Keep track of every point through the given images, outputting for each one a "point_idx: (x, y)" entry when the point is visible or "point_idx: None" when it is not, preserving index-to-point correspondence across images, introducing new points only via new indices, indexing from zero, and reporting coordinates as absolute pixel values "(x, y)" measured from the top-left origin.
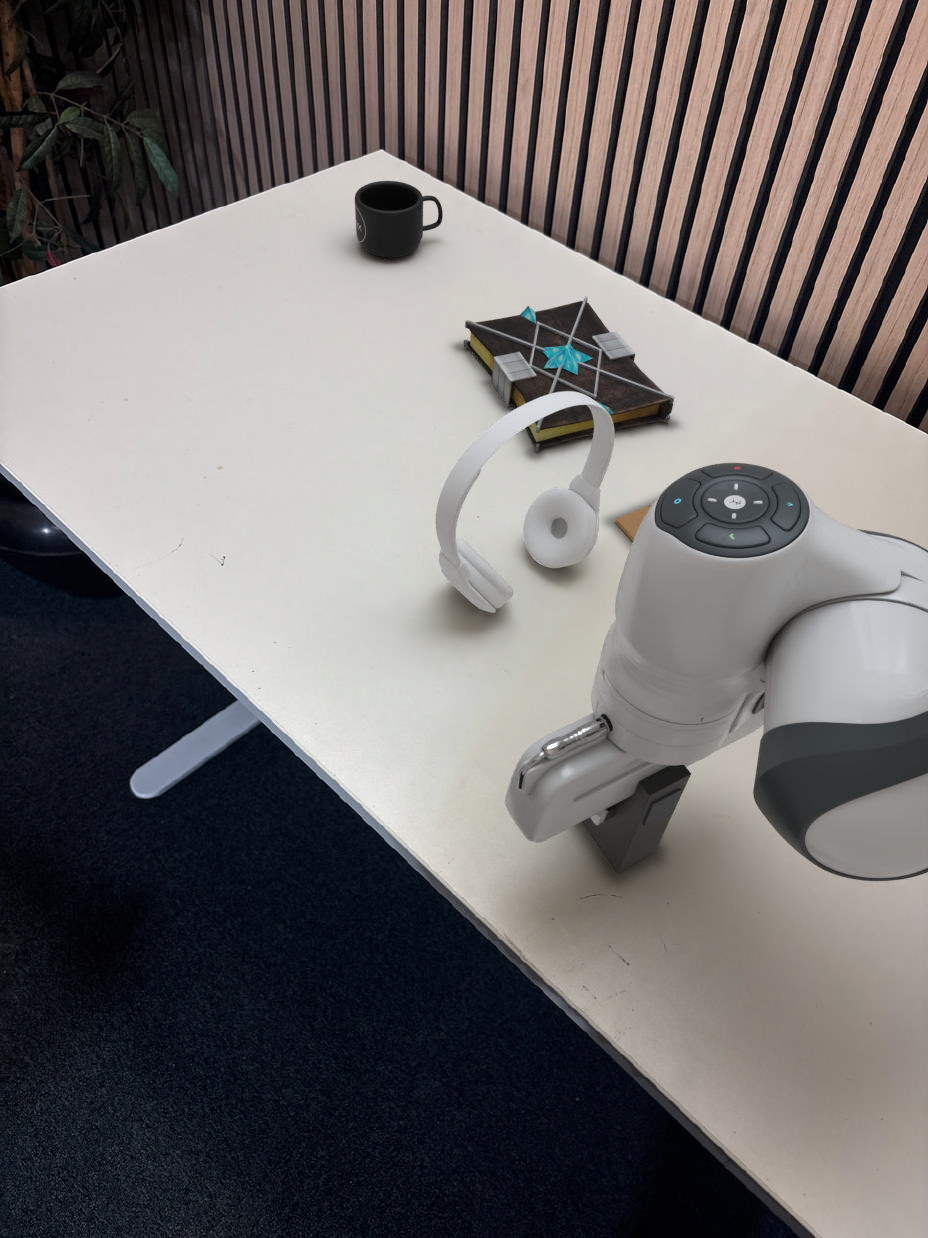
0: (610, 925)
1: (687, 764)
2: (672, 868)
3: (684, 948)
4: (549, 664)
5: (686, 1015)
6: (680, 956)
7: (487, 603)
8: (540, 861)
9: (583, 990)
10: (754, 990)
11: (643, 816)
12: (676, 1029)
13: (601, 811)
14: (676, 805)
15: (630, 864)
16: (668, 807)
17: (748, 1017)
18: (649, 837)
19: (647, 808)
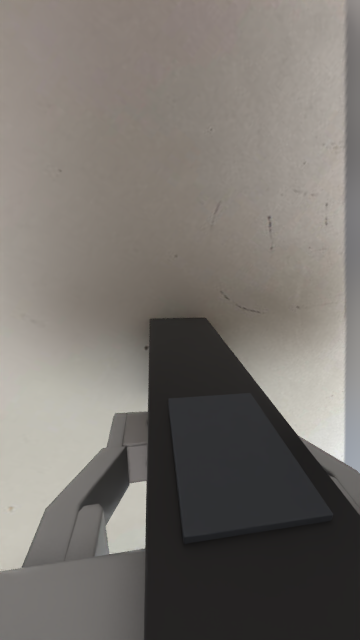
0: (253, 269)
1: (80, 621)
2: (141, 291)
3: (196, 191)
4: (125, 523)
5: (255, 106)
6: (207, 185)
7: None
8: (265, 364)
9: (330, 220)
10: (144, 65)
11: (287, 435)
12: (279, 99)
13: (315, 455)
14: (150, 407)
15: (190, 320)
16: (195, 426)
17: (181, 33)
18: (184, 347)
19: (317, 484)
